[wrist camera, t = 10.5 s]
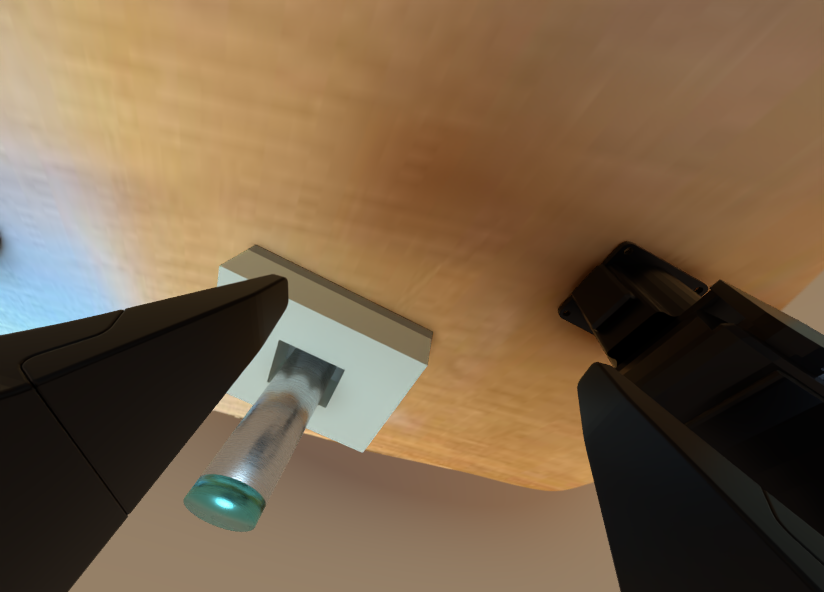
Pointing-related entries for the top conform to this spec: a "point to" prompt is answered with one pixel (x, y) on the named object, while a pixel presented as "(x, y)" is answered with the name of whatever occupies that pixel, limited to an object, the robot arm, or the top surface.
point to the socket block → (334, 348)
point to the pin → (260, 446)
